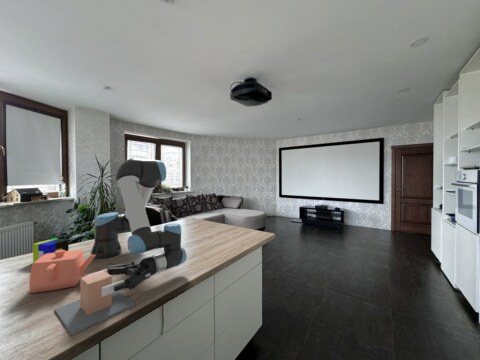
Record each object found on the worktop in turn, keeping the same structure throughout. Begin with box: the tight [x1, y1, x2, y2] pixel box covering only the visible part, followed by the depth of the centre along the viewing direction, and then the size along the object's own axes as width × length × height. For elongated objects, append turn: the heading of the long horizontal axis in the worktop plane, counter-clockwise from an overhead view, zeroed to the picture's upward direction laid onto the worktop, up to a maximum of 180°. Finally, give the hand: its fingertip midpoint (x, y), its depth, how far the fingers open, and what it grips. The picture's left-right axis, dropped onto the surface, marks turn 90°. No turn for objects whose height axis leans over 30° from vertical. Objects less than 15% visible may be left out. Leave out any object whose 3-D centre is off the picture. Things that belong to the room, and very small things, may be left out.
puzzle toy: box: [32, 237, 70, 264], centre depth 111 cm, size 10×10×10 cm
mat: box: [54, 290, 136, 336], centre depth 71 cm, size 18×18×1 cm
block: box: [79, 270, 113, 315], centre depth 71 cm, size 7×7×10 cm
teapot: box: [28, 249, 96, 294], centre depth 88 cm, size 20×22×14 cm
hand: (93, 285), depth 71 cm, fingers open, 13 cm apart
